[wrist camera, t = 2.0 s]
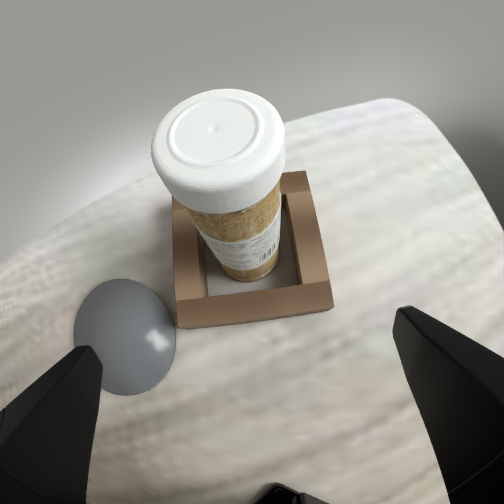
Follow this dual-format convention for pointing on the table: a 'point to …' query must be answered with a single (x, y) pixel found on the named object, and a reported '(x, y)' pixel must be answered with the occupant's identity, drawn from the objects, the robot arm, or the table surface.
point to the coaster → (127, 335)
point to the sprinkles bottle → (227, 175)
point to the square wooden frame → (256, 302)
